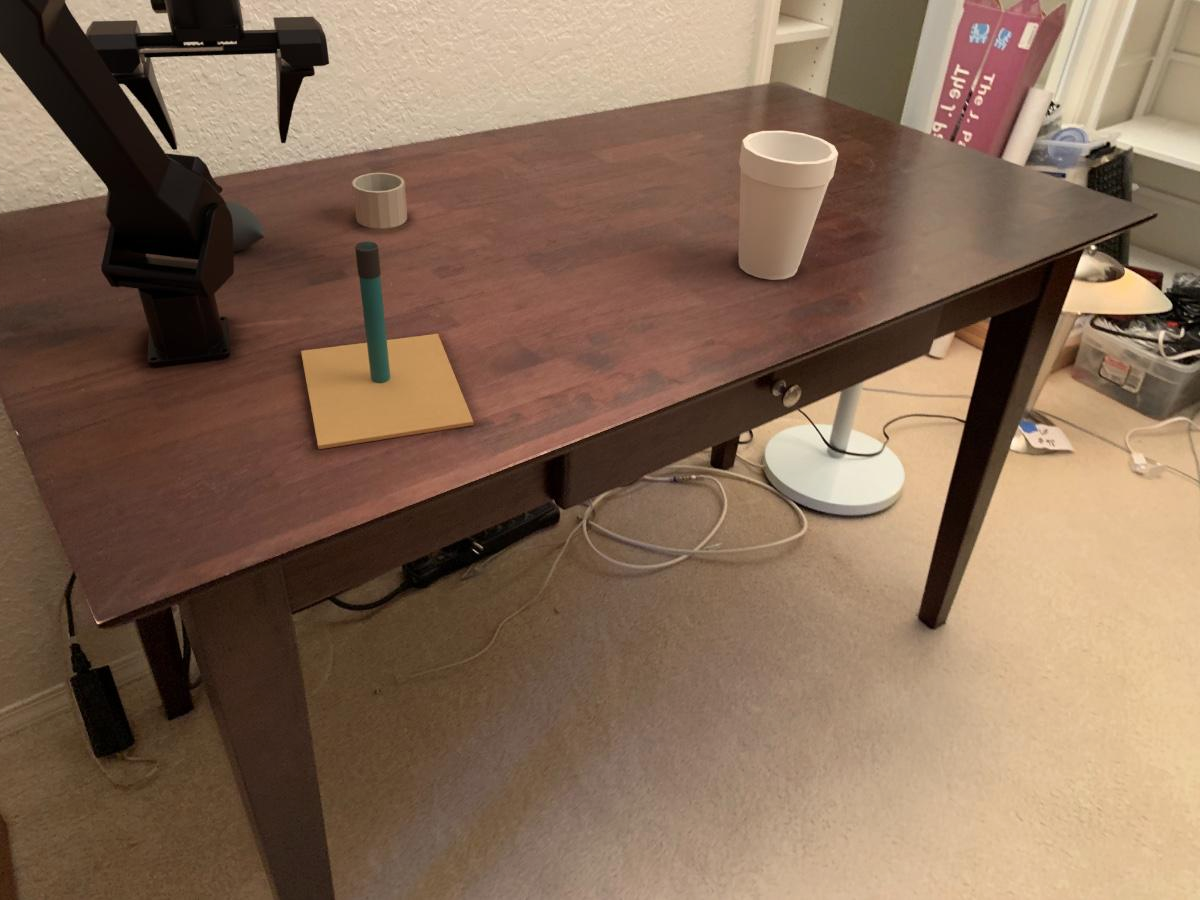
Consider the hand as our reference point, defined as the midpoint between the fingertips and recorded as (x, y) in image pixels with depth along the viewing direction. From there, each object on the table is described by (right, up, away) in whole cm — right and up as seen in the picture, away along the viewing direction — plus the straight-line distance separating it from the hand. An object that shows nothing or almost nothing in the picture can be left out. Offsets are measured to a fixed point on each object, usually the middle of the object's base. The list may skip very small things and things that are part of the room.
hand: (229, 145), depth 83 cm
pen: (+15, -22, -6) cm, 27 cm away
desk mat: (+15, -22, -6) cm, 28 cm away
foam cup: (+52, -8, +16) cm, 55 cm away
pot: (+9, -2, +19) cm, 22 cm away
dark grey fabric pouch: (-9, -6, +13) cm, 17 cm away
